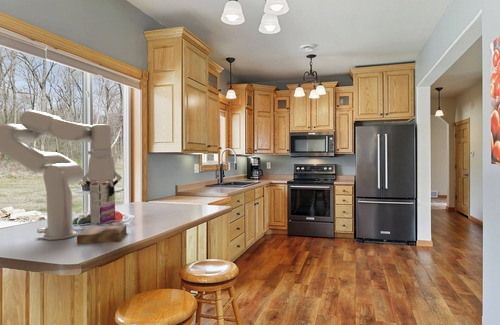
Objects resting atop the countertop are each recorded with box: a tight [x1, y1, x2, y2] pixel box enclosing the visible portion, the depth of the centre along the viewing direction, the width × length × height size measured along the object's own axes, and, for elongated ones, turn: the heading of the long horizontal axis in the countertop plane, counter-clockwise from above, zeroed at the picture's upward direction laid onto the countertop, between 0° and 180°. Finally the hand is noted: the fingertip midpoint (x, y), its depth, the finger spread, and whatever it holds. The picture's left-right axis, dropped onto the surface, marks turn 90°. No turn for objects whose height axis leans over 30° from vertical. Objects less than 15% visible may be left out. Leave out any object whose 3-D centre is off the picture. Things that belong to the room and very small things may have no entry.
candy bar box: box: [89, 181, 116, 225], centre depth 141 cm, size 11×5×16 cm, turn 172°
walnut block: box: [76, 224, 127, 245], centre depth 141 cm, size 16×16×4 cm
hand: (102, 195), depth 141 cm, fingers closed on candy bar box, 6 cm apart
